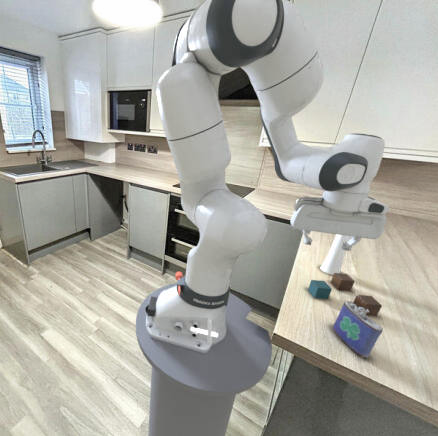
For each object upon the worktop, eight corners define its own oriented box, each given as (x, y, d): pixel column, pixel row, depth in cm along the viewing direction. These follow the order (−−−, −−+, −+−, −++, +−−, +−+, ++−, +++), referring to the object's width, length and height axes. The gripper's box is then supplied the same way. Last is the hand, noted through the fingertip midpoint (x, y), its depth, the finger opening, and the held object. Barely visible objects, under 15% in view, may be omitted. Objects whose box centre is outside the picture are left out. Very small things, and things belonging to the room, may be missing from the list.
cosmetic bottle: (321, 264, 92) (341, 211, 83) (341, 271, 88) (363, 216, 79) (318, 270, 88) (338, 216, 79) (338, 277, 84) (361, 221, 75)
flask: (370, 358, 55) (389, 323, 51) (359, 359, 54) (377, 324, 50) (338, 326, 63) (352, 294, 59) (328, 327, 63) (341, 295, 59)
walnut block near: (361, 314, 67) (366, 303, 66) (351, 304, 71) (356, 294, 70) (376, 316, 67) (382, 305, 65) (366, 306, 71) (371, 295, 69)
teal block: (314, 298, 73) (318, 287, 72) (307, 289, 77) (311, 279, 76) (327, 299, 73) (332, 289, 72) (320, 291, 77) (324, 280, 75)
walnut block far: (337, 289, 78) (341, 279, 76) (330, 282, 81) (334, 272, 80) (350, 291, 77) (355, 281, 76) (342, 283, 81) (346, 273, 79)
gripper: (300, 198, 61) (287, 245, 66) (398, 208, 55) (375, 258, 61) (294, 192, 67) (282, 236, 72) (382, 201, 61) (362, 247, 66)
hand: (325, 246), depth 66 cm, fingers open, 8 cm apart
